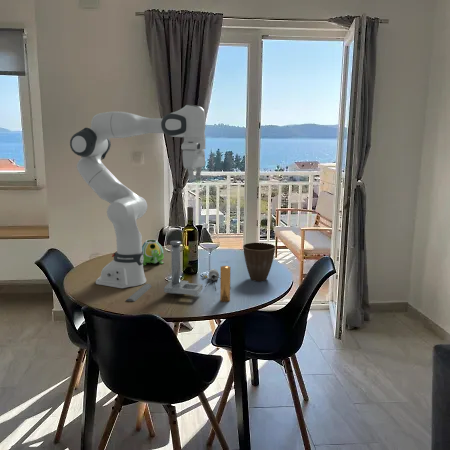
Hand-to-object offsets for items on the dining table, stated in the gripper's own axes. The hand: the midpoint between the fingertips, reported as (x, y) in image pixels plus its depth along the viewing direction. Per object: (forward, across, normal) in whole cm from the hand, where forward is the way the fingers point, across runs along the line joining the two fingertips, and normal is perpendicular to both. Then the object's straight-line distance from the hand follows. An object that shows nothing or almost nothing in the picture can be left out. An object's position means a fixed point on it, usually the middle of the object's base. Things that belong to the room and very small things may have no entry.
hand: (194, 178), depth 184 cm
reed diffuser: (+49, -6, +6) cm, 49 cm away
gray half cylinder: (+49, +13, -21) cm, 55 cm away
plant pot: (+48, -19, +25) cm, 58 cm away
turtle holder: (+48, -32, -33) cm, 67 cm away
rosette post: (+48, +10, -2) cm, 49 cm away
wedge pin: (+48, +12, +16) cm, 52 cm away
